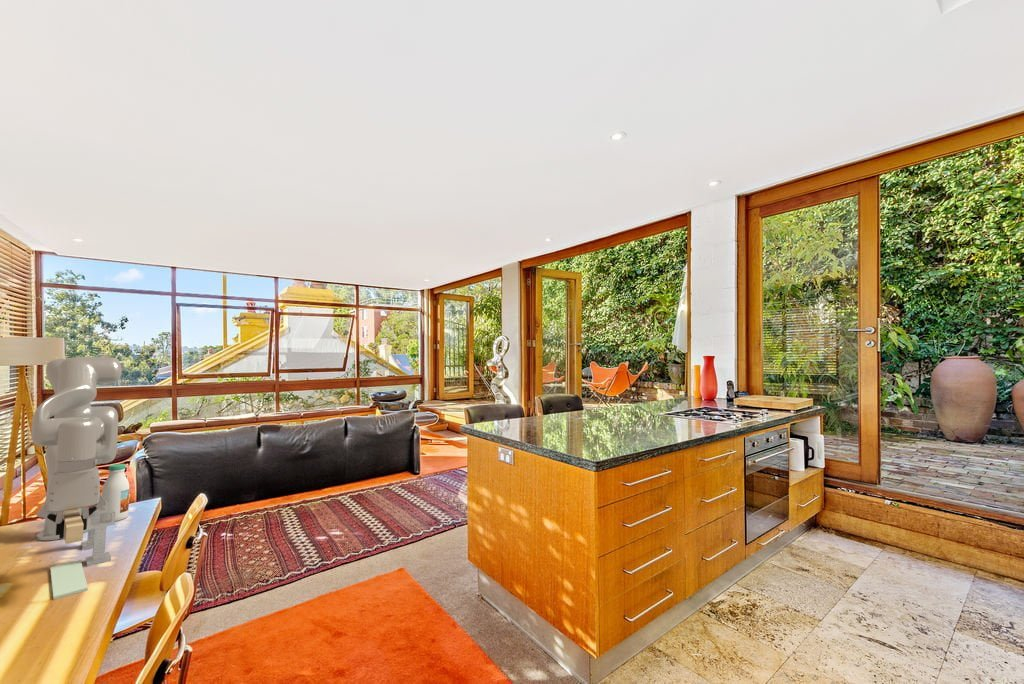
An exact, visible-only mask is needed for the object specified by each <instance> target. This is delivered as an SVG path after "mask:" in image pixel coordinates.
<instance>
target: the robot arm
mask: <svg viewBox="0 0 1024 684" xmlns="http://www.w3.org/2000/svg"><path fill="white" fill-rule="evenodd" d="M122 371H123V369H122V364H121V362H120V360H119V359H117V358H115V357H107V356H106V357H104V356H103V357H101V356H98V357H97V356H75V357H69V358H57V359H52V360H50V361H48V362H47V363H46V365H45V374H46V378H47V380H48V382H49V384H50V387H51V388H52V389H53V392H54V394H53V395H50V396H49V397H48V398H46V399H45V400H44V401H42V402H41V403H40V404H39V406H38V407H36V409H35V411H34V413H33V416H32V421H31V422H32V424H31V432H30V435H31V441H32V443H33V444H34V445H35V446H38V447H46V450H45V461H46V462H45V463H46V471H47V485H46V495H45V502H44V503H43V504H42V506H41V507H40V508H39V509H38V511H37V513H36V516H37V517H38V518H43V519H44V524H43V525H44V528H43V530H41V531H40V532H39V533H38V534H36V540H39V541H55V540H61V539H64V520H63V514H64V511H66V510H72V509H78V510H79V513H80V516H81V518H82V521H83V524H84V527H83V534H84V533H87V532H88V530H86V529H87V518H88V517H89V516H90V515H91V514H92V513H93V512H94V511H96V510H97V509H100V508H101V507H102V506H104V505H106V502H105V500H104V499H103V498H102V496H101V495H102V494H101V483H100V481H101V480H100V472H99V468H98V467H96V466H98V465H102V464H108V463H111V462H113V461H114V459H116V457H117V456H116V455H117V451H118V438H119V437H118V434H119V414H118V413H119V412H118V411H117V409H116V408H115V407H113V406H107V405H106V406H103V405H101V406H100V405H99V406H91V403H92V402H93V401H94V400H95V399H96V398H97V395H98V392H97V387H98V386H97V384H115V383H118V382H119V381H120V380H121V377H122ZM52 417H53V418H52ZM81 509H82V515H81Z"/></svg>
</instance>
